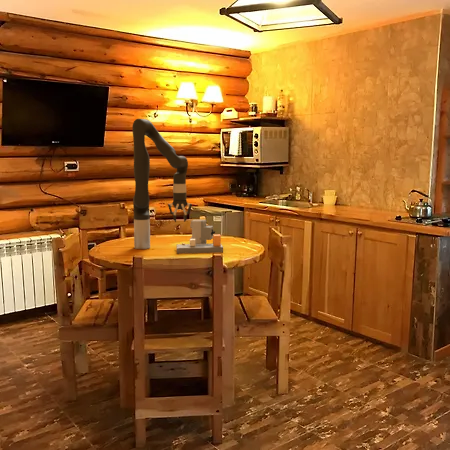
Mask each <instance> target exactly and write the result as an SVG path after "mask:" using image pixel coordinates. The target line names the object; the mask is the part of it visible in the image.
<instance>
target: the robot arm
mask: <svg viewBox="0 0 450 450" xmlns="http://www.w3.org/2000/svg"><path fill="white" fill-rule="evenodd" d="M145 137H147V138H149V139H150V140H151V141H152V143H153V144H154V145H155V147H156V149H157V151H158V152H159V153H160V154H161V155H162V156H163V157H164V158H165V159H166V161H167V163H168V164H169V166H171V167H172V168H173V169H176V172H175V173H174V174H173V175H172V176H173V178H172V179H173V184H172V186H173V187H172V197H173V198H172V202H171V203H168V204H167V205H168V206H167V207H168V210H169V213H170V215H173V221H174V222H175V223H176V222H177V212H178V210H182V211H183V222H184V223H185V222H186V221H187V219H188V218H187V215H190V213H191V211H192V205H193V204H192V203H189V202H188V201H187V179H186V178H187V177H186V176H187V171H188V167H189V162H188V159H187V157H186V156H184V155H177V154H176V152H177V151H176V150H175V148H174V147H173V146H172V145H171V144H170V143H169V142H168V141H167V140H166V139H165V138H164V137H163V136H162V134H160V132H159V131H158V130H157V128H156V127H155V125H154V124H153V123H152V121H150V120H149V119H146V118H136V119H135V120H134V121H133V122H132V140H133V177H134V181H135V189H134V194H133V199H132V202H133V204H132V206H133V240H134V241H133V243H134V244H133V247H134V249H136V250H137V249H139V250H146V249H150V248H151V224H150V223H151V220H150V216H151V215H150V200H151V199H150V193H149V179H150V171H151V170H150V168H151V165H150V164H151V162H150V161H151V160H150V155H149V153H148V150H147V146H146V141H145V139H146V138H145ZM172 207H174V211H173V209H172ZM186 207H188V209H187V210H186Z"/></svg>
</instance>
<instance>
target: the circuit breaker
mask: <svg viewBox="0 0 450 450" xmlns="http://www.w3.org/2000/svg"><path fill="white" fill-rule="evenodd" d="M189 226H190V229H191V237H190V239H195V244H207V241H210V240H213V235H215V234H216V231H215V230H214V225H207V219H192V220H190V225H189Z"/></svg>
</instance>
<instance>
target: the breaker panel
mask: <svg viewBox="0 0 450 450" xmlns="http://www.w3.org/2000/svg"><path fill="white" fill-rule="evenodd" d="M210 253H211V254H212V253H224V246H223V245H222V244H221V246H213V243H206V244H195V246H190V243H185V242H183V243H182V242H181V244H180V243H179V244H176V254H210Z"/></svg>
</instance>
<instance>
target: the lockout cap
mask: <svg viewBox="0 0 450 450" xmlns="http://www.w3.org/2000/svg"><path fill="white" fill-rule="evenodd" d="M221 240H222V236H221V234H213V238H212V244H213V246H221V245H222V241H221Z"/></svg>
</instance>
